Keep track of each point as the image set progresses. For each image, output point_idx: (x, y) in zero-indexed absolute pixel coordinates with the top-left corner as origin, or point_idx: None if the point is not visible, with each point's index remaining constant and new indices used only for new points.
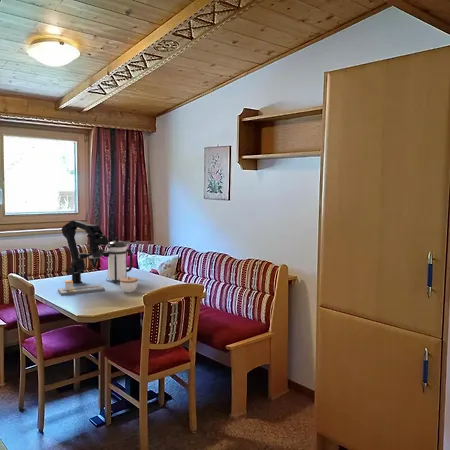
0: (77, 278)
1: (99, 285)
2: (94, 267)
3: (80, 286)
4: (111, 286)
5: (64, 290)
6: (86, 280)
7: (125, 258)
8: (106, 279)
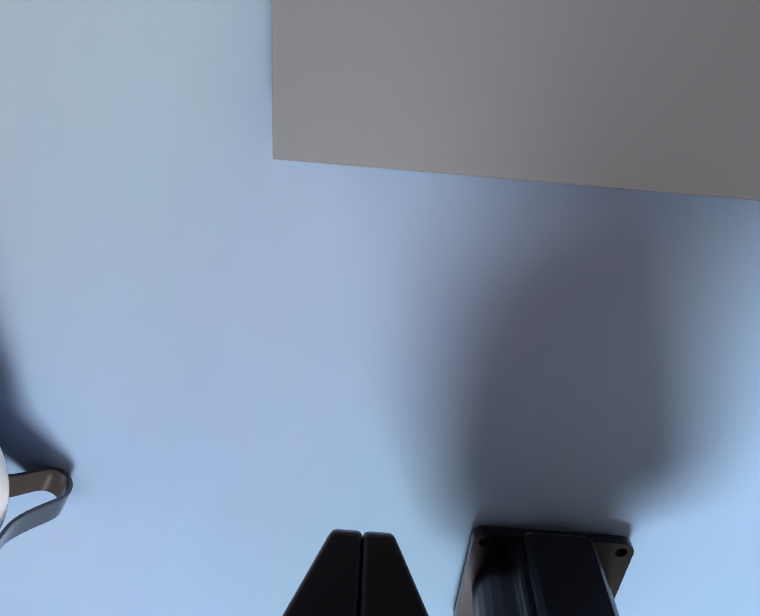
0: (578, 597)
1: (314, 31)
2: (355, 557)
3: (745, 176)
4: (19, 4)
5: None
6: None
7: None
8: (63, 496)
